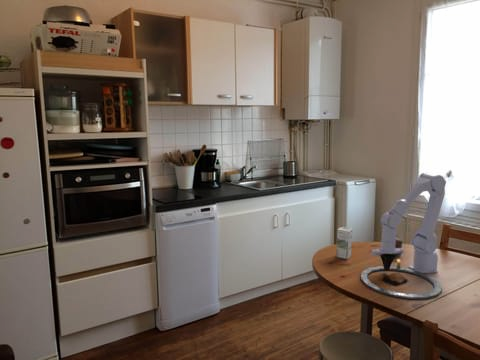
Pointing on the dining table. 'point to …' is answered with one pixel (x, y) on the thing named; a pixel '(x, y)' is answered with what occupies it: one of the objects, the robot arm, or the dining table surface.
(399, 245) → the food item
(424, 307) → the dining table surface
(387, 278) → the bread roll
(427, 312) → the dining table surface
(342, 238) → the syrup box
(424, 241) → the robot arm
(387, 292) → the turntable ring
